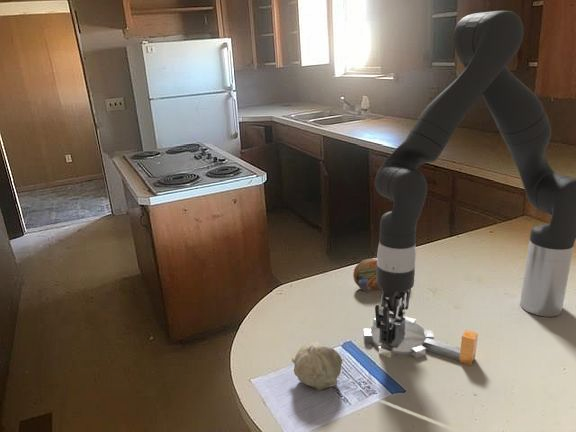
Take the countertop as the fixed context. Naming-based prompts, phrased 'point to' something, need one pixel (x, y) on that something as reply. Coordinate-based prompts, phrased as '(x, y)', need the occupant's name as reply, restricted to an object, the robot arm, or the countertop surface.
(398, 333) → the grey cube with slot
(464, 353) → the drive pin
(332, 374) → the garlic bulb
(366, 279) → the tin
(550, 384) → the countertop surface
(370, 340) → the sprocket
